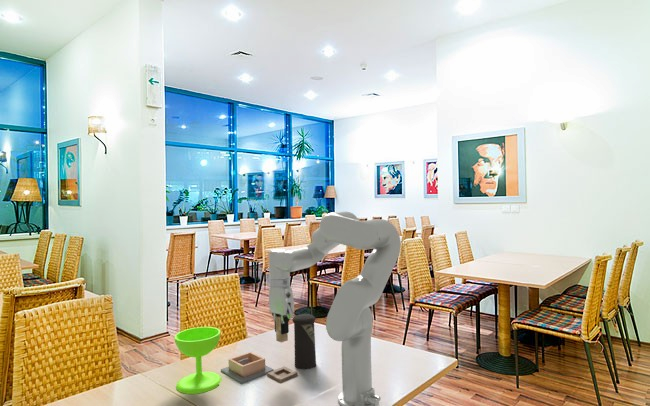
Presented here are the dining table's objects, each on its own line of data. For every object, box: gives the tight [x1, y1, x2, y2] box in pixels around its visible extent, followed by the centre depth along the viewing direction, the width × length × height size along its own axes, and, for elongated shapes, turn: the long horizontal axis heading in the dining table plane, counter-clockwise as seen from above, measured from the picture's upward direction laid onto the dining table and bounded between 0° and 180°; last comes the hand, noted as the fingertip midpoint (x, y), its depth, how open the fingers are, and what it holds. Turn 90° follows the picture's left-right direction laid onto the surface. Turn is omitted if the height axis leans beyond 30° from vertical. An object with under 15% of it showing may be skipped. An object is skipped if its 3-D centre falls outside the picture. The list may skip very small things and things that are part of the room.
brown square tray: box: [266, 365, 298, 383], centre depth 149 cm, size 8×8×2 cm
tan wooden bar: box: [275, 315, 289, 343], centre depth 149 cm, size 3×3×9 cm
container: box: [291, 313, 317, 370], centre depth 158 cm, size 9×9×20 cm
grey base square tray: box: [220, 351, 275, 384], centre depth 154 cm, size 15×14×5 cm
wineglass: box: [174, 326, 222, 395], centre depth 146 cm, size 16×16×18 cm
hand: (281, 331), depth 149 cm, fingers closed on tan wooden bar, 3 cm apart
